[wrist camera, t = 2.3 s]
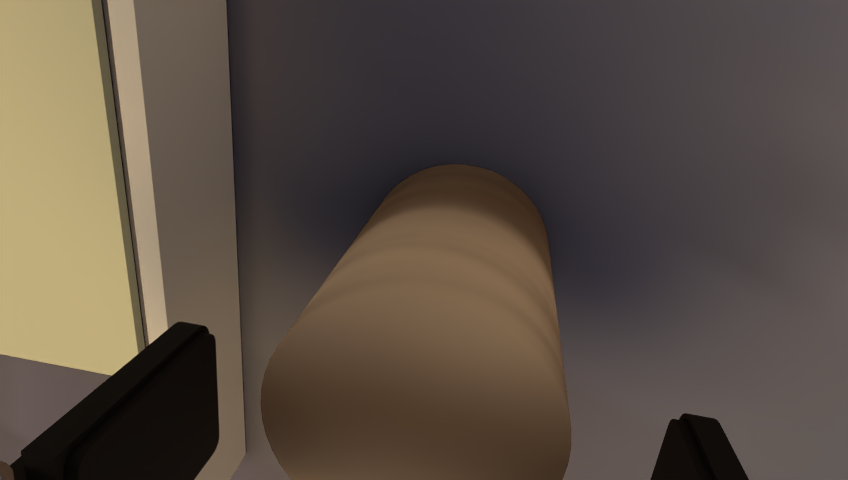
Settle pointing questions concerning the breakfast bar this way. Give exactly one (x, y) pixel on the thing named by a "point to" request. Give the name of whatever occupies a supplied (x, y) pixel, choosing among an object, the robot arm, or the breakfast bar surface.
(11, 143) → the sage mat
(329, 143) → the breakfast bar surface
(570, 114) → the breakfast bar surface
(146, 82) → the cream plank
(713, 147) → the breakfast bar surface
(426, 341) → the birch cylinder
